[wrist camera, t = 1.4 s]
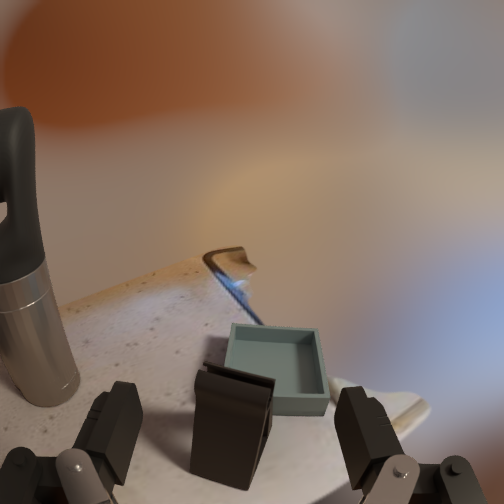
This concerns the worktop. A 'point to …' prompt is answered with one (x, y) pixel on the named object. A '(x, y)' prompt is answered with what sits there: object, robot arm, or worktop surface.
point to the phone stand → (230, 424)
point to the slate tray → (283, 365)
